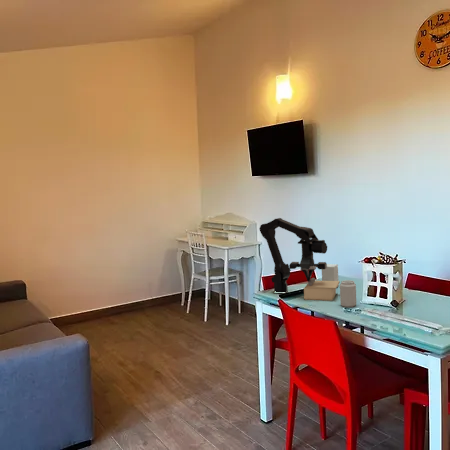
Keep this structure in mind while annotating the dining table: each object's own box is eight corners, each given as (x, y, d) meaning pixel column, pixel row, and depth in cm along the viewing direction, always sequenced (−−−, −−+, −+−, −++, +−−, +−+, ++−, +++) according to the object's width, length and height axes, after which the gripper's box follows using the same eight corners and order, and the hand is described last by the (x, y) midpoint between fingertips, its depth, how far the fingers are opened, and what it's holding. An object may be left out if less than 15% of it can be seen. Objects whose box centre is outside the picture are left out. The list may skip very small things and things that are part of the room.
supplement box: (339, 286, 269) (338, 264, 268) (334, 289, 263) (333, 266, 262) (326, 285, 273) (325, 263, 272) (321, 288, 267) (321, 266, 266)
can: (347, 308, 226) (347, 283, 224) (337, 305, 232) (336, 281, 231) (359, 305, 229) (359, 281, 228) (349, 302, 236) (348, 278, 235)
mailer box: (304, 299, 246) (303, 288, 245) (309, 292, 259) (309, 282, 258) (331, 300, 241) (331, 289, 240) (335, 293, 254) (335, 282, 253)
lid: (307, 288, 244) (306, 283, 244) (312, 281, 258) (312, 277, 257) (335, 289, 239) (335, 284, 239) (339, 282, 252) (339, 277, 252)
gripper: (286, 254, 245) (287, 284, 247) (322, 255, 238) (323, 285, 240) (291, 251, 256) (292, 279, 257) (326, 251, 249) (327, 280, 250)
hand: (308, 281), depth 251 cm, fingers closed
